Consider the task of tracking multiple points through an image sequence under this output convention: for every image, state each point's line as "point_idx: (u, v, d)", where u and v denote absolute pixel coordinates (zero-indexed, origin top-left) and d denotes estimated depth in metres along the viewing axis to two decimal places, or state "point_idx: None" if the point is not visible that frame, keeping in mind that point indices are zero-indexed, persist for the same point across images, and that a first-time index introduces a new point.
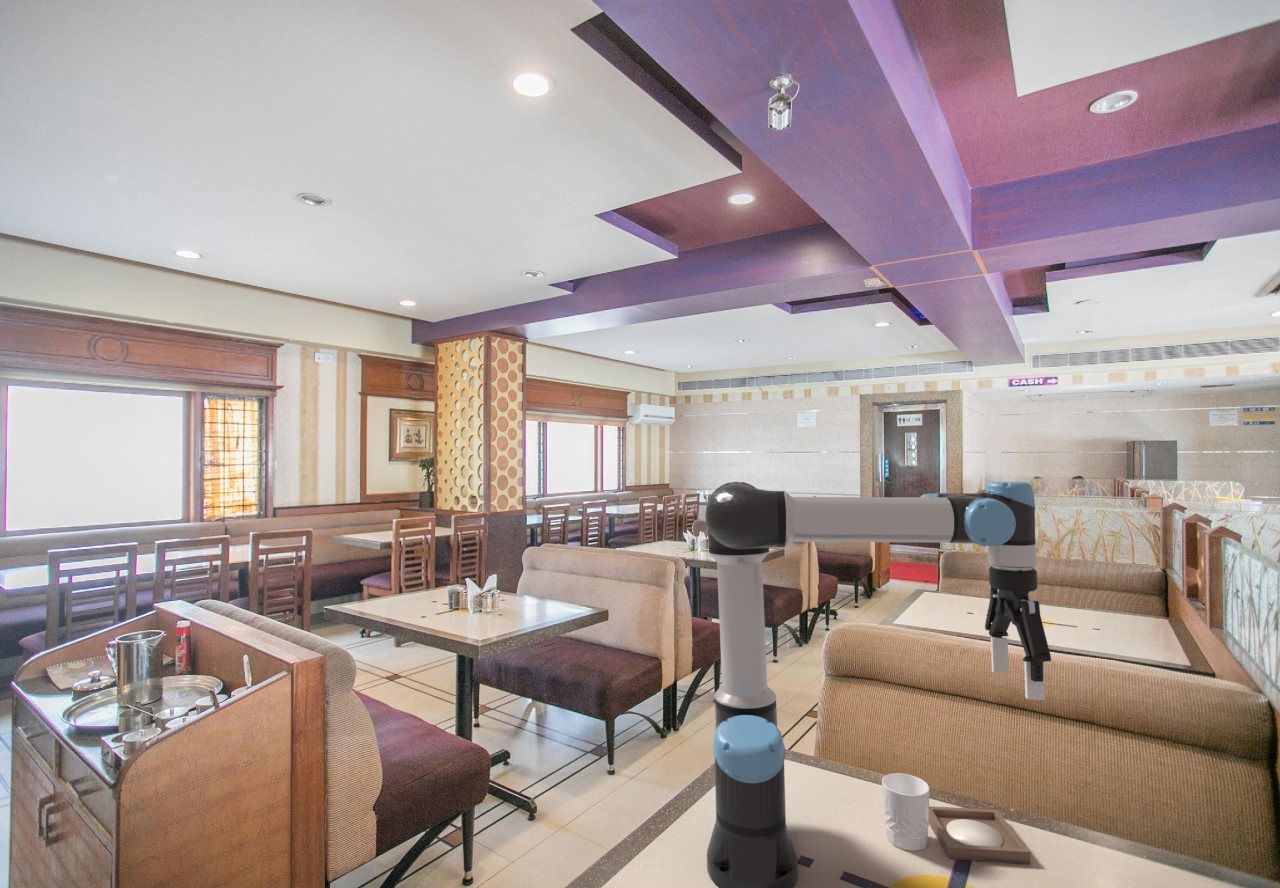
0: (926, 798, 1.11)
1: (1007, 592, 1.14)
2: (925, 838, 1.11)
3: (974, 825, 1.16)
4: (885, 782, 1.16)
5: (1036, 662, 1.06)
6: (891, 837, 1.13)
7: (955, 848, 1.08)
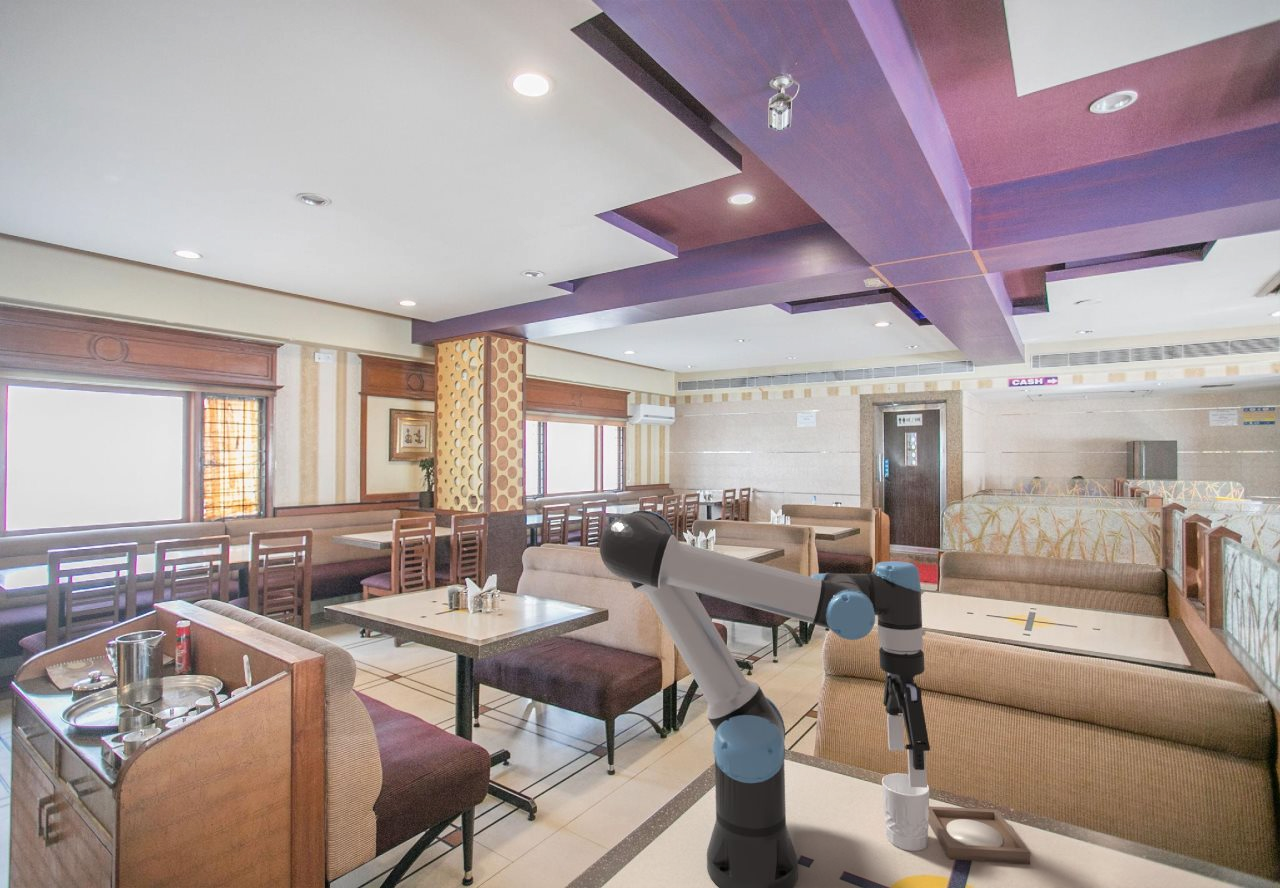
0: (926, 798, 1.11)
1: (896, 674, 1.14)
2: (925, 838, 1.11)
3: (974, 825, 1.16)
4: (885, 782, 1.16)
5: (917, 750, 1.06)
6: (891, 837, 1.13)
7: (955, 848, 1.08)
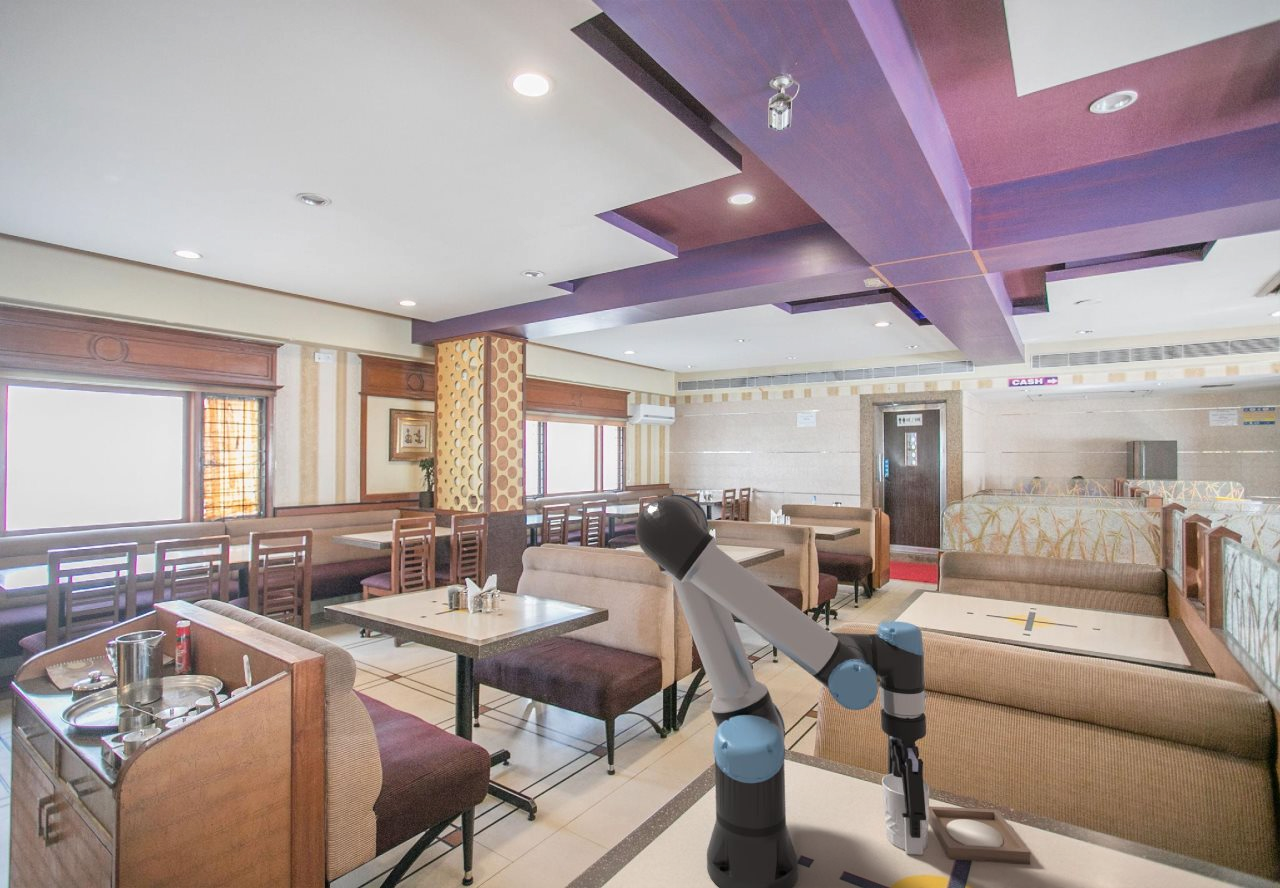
0: (926, 798, 1.11)
1: None
2: (925, 838, 1.11)
3: (974, 825, 1.16)
4: (885, 782, 1.16)
5: None
6: (891, 837, 1.13)
7: (955, 848, 1.08)
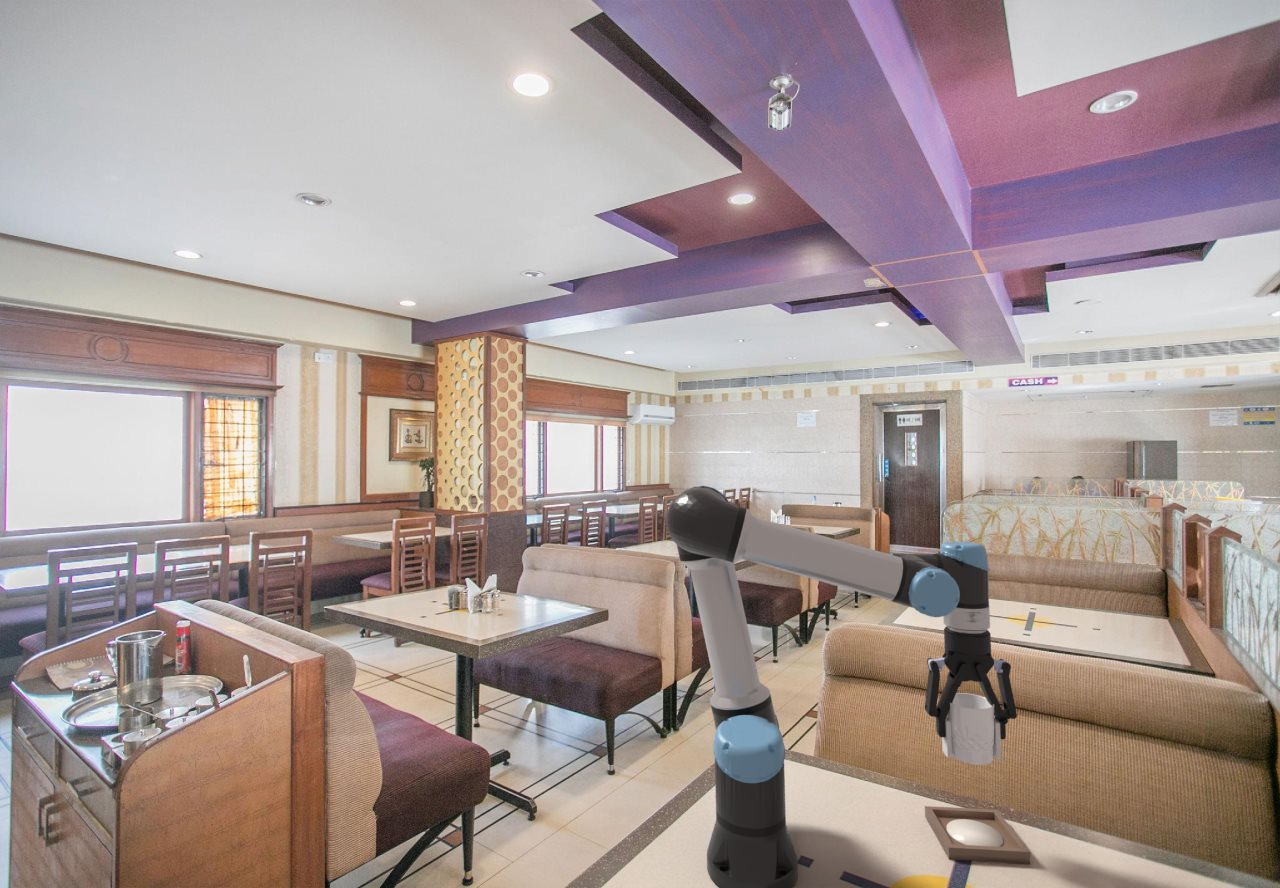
0: (959, 712, 1.12)
1: None
2: (963, 752, 1.12)
3: (974, 825, 1.16)
4: (975, 700, 1.17)
5: None
6: None
7: (955, 848, 1.08)
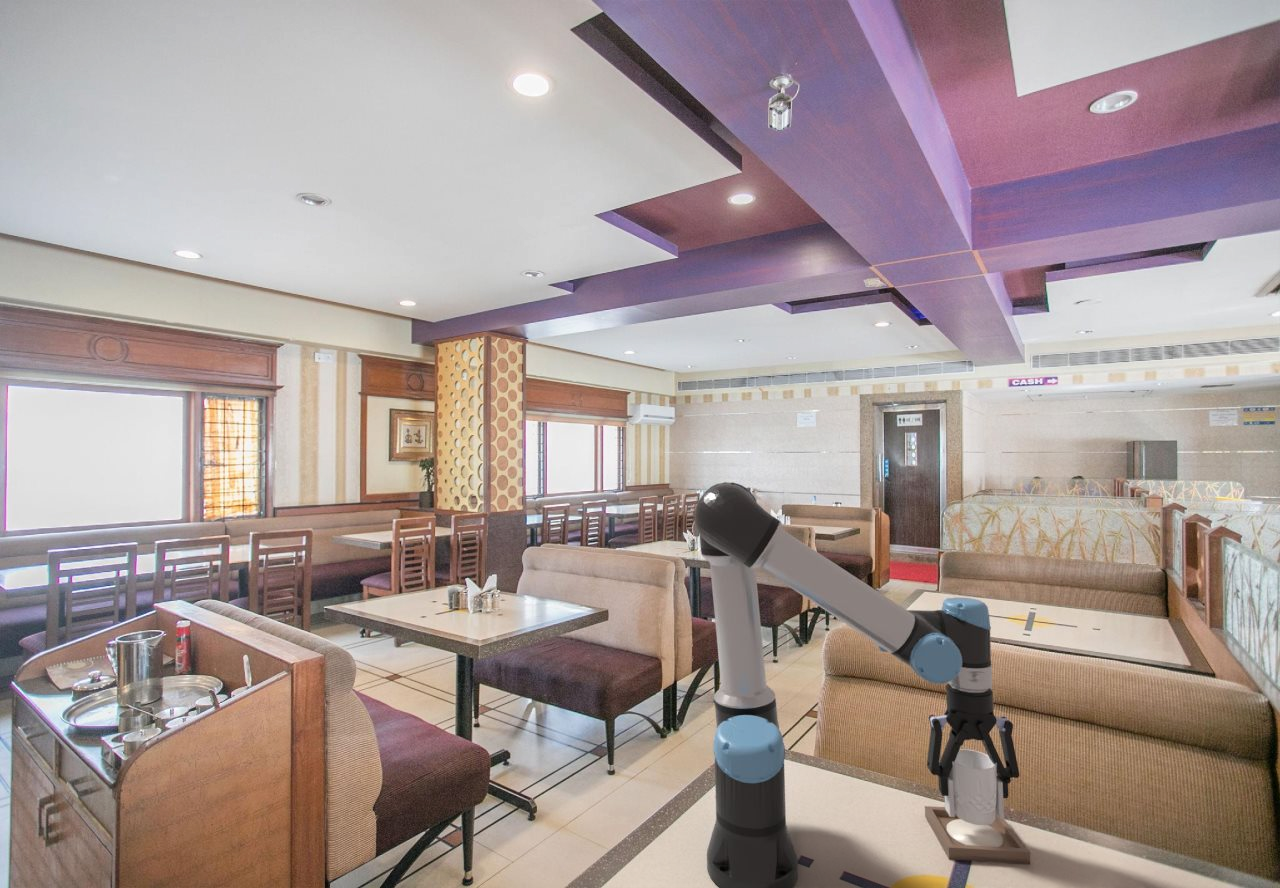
0: (962, 771, 1.11)
1: None
2: (965, 812, 1.11)
3: (974, 825, 1.16)
4: (977, 756, 1.16)
5: None
6: None
7: (955, 848, 1.08)
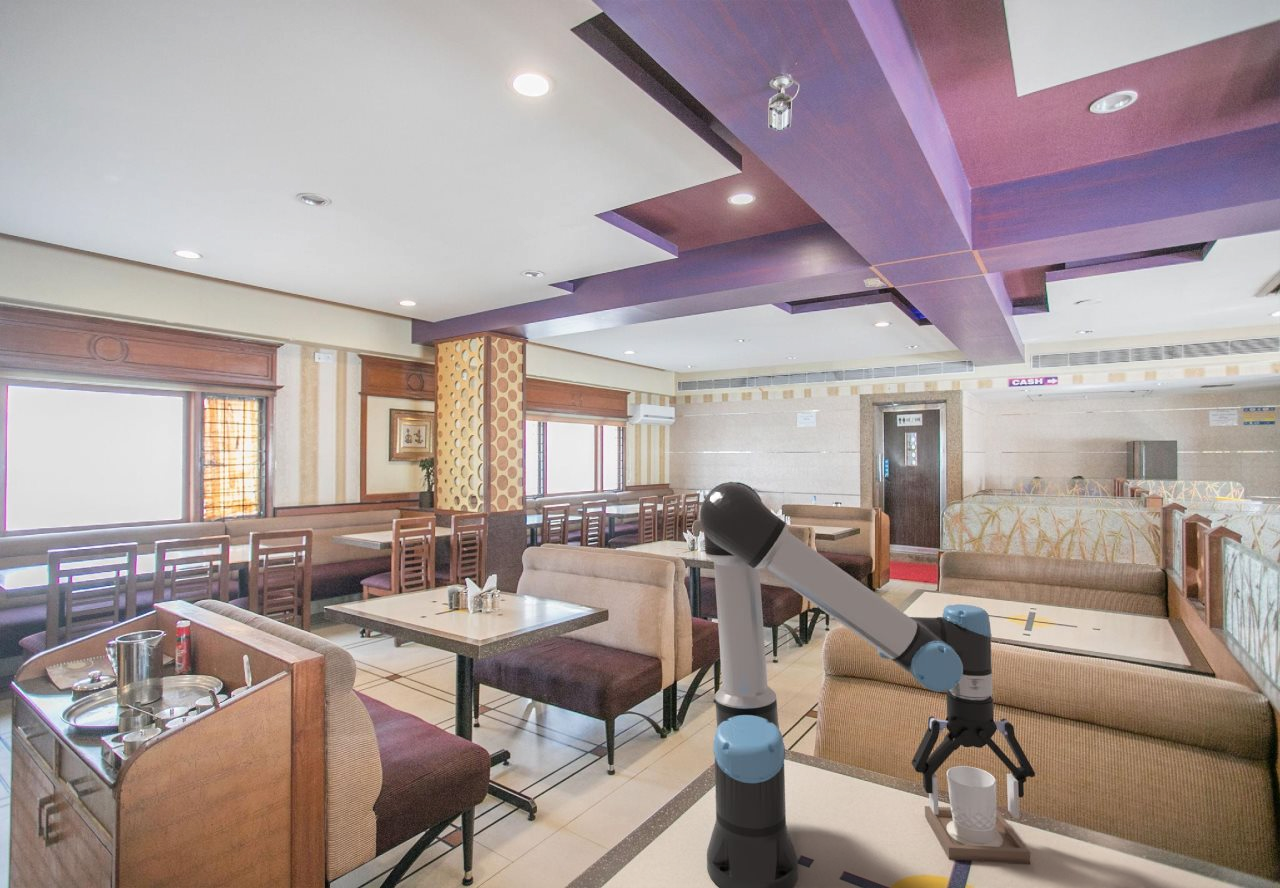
0: (961, 790, 1.11)
1: None
2: (965, 830, 1.11)
3: None
4: (977, 773, 1.16)
5: None
6: None
7: (955, 848, 1.08)
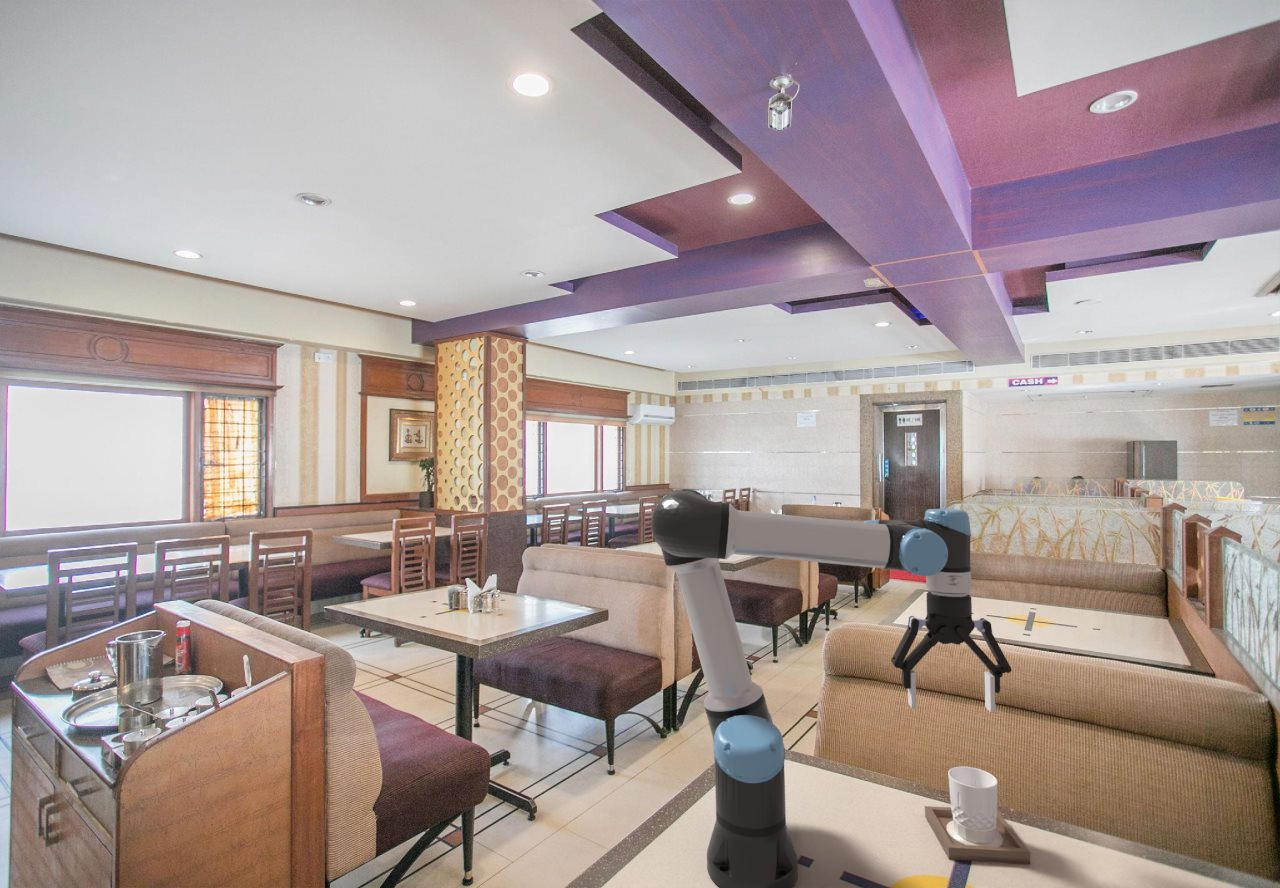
0: (962, 789, 1.11)
1: None
2: (965, 830, 1.11)
3: None
4: (978, 774, 1.16)
5: None
6: None
7: (955, 848, 1.08)
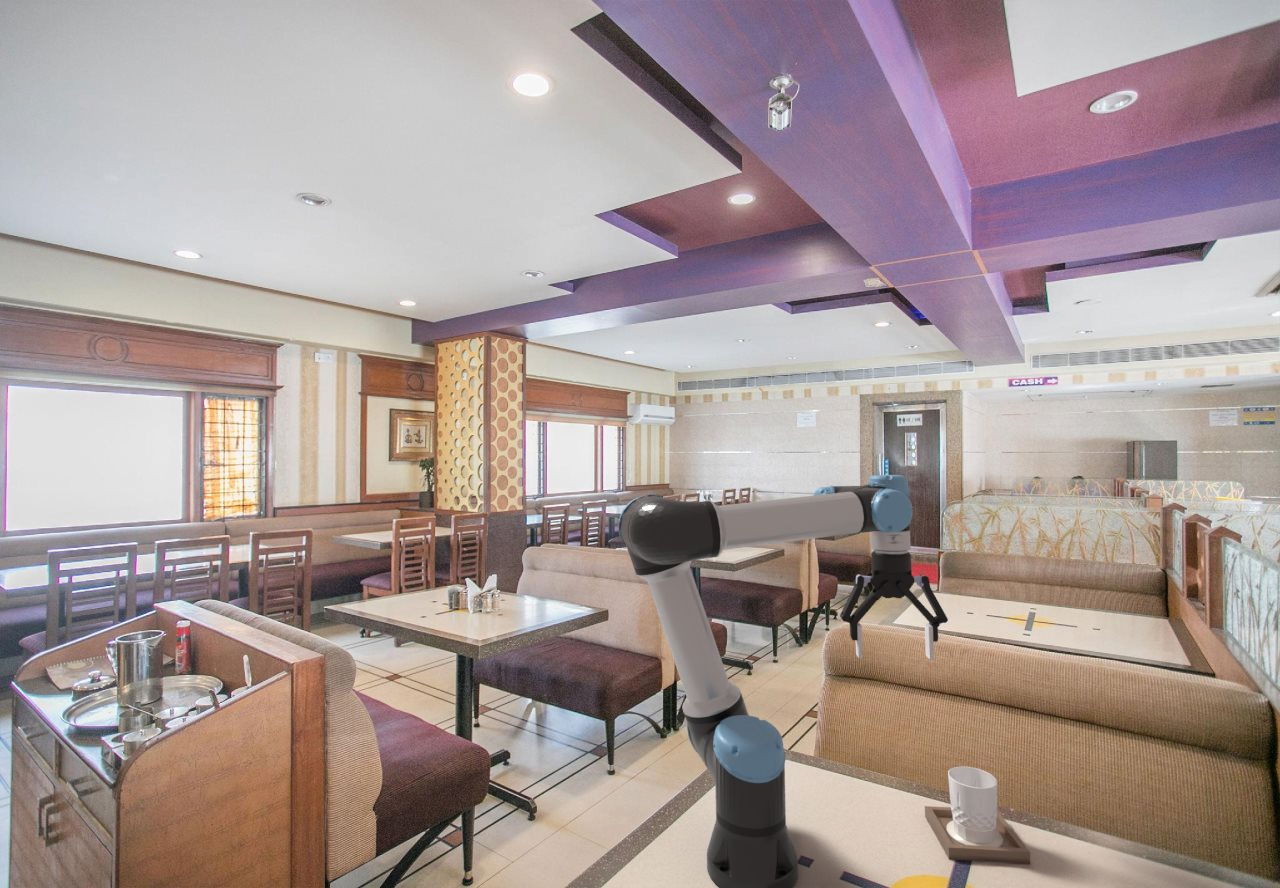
0: (962, 790, 1.11)
1: None
2: (965, 830, 1.11)
3: None
4: (978, 774, 1.16)
5: None
6: None
7: (955, 848, 1.08)
